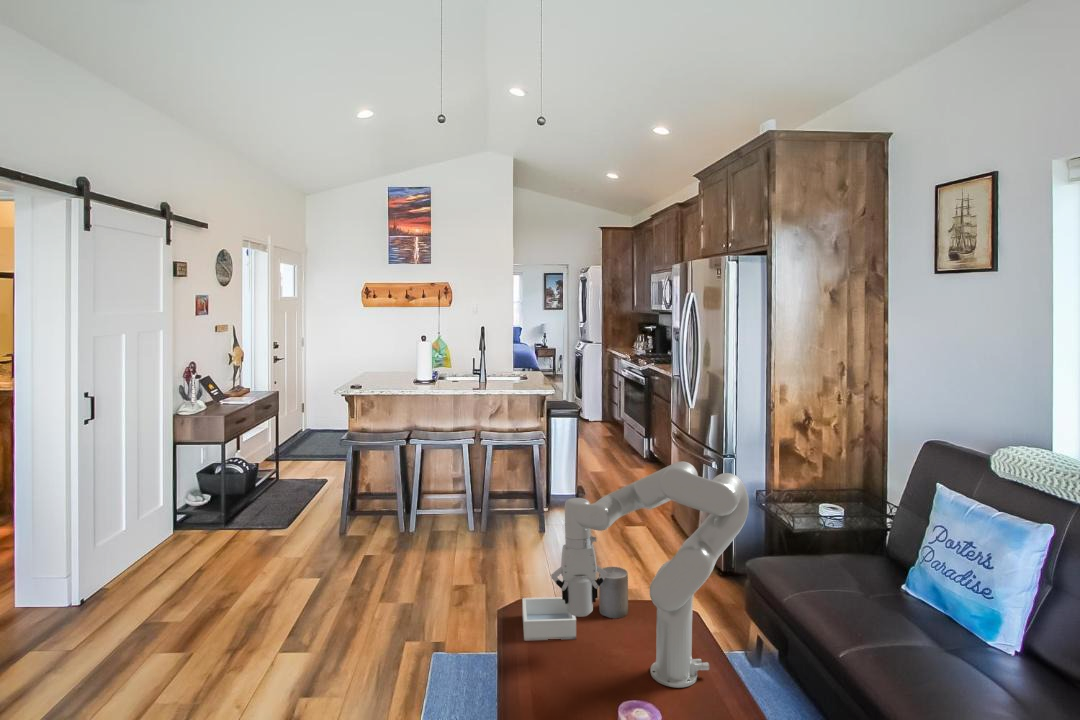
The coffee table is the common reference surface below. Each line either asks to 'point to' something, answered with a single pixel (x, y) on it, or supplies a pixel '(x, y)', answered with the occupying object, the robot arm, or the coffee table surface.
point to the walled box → (547, 619)
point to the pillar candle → (614, 593)
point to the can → (580, 596)
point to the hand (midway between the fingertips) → (579, 600)
